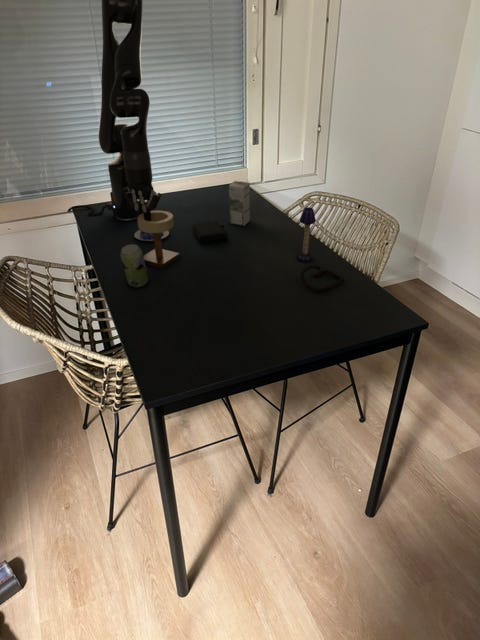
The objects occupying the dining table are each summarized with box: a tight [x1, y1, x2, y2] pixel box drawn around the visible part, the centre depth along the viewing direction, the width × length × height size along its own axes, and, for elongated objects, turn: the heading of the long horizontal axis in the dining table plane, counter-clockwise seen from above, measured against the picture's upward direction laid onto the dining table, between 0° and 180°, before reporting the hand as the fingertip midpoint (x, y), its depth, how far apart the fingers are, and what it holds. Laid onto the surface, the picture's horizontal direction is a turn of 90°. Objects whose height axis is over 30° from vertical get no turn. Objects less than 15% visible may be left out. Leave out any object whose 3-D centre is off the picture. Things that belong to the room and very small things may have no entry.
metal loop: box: [299, 264, 344, 293], centre depth 141 cm, size 13×5×10 cm
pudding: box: [133, 229, 170, 242], centre depth 171 cm, size 12×12×5 cm
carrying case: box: [192, 219, 228, 244], centre depth 171 cm, size 11×3×15 cm
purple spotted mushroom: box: [297, 206, 316, 263], centre depth 151 cm, size 5×5×17 cm
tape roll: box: [136, 210, 175, 233], centre depth 149 cm, size 10×10×3 cm
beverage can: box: [119, 243, 150, 288], centre depth 140 cm, size 6×7×12 cm
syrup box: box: [228, 180, 251, 227], centre depth 178 cm, size 6×6×14 cm
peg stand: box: [143, 233, 181, 270], centre depth 153 cm, size 9×9×12 cm
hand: (144, 221), depth 151 cm, fingers closed on tape roll
